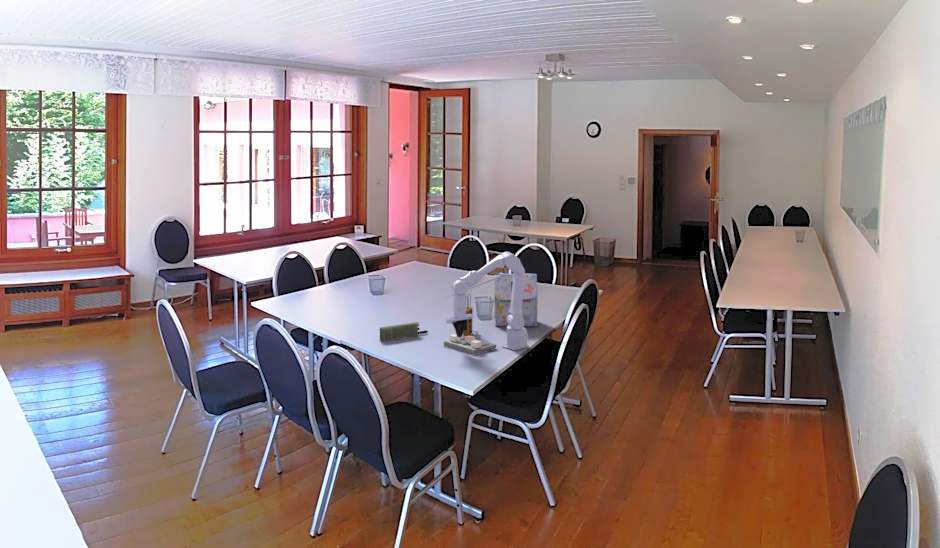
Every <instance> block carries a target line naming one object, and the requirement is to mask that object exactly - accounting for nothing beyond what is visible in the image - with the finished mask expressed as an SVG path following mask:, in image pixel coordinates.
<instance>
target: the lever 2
mask: <svg viewBox="0 0 940 548" xmlns="http://www.w3.org/2000/svg"><path fill="white" fill-rule="evenodd" d="M471 347H473V348H480V347H481V342H480V341H477V340H474V341H471Z"/></svg>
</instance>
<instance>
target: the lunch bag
mask: <svg viewBox="0 0 940 548" xmlns="http://www.w3.org/2000/svg"><path fill="white" fill-rule="evenodd" d="M537 278H538V274H536V273H526V272H525V276H524V287H523V299H522V313H523V320H524V326H523V327H538V311H539V310H538V309H539V308H538V307H539V306H538V301H539V299H538V298H539V297H538V296H539V290H538V288H539V287H538V279H537ZM493 282H494V295H493V296H494V297H493V304H494V305H493V306H494V319H495V320H494V321H495V327H507V326H508V323H507V321H506V317H507V315H508V313H509V309H510V307H511V296H512V284H513V273H503V272H499V274H494V277H493Z"/></svg>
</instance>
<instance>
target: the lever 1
mask: <svg viewBox="0 0 940 548" xmlns="http://www.w3.org/2000/svg"><path fill="white" fill-rule="evenodd" d="M449 340H450V341H453V342H457V341H460V337H457V335H456V333H453V334H449Z"/></svg>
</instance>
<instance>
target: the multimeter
mask: <svg viewBox="0 0 940 548" xmlns="http://www.w3.org/2000/svg"><path fill="white" fill-rule="evenodd" d="M468 295H469V296H468ZM469 299H470V300H469ZM471 299H472V296H471V294H470V293H466V314H472V315H473V309H474V308H473V307H471V306H472V305H471V302H472V300H471ZM465 321H467V324H466V326H465V328H464V331H463V335H462V337H464V336H469V335H470V336H471V333H472V334H473V319H467V320H465ZM475 335H477V336H474V337H475V339H478V337H482V338H484V337H483V335H481V334H478V331H476V332H475ZM478 335H479V336H478Z"/></svg>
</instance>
